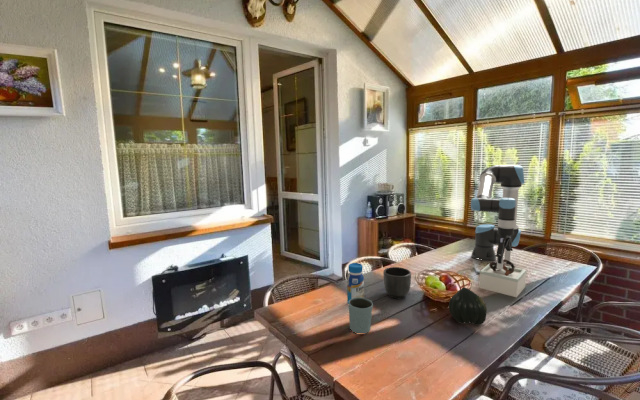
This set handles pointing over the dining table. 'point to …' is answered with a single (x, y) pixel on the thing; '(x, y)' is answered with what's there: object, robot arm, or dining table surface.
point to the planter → (397, 281)
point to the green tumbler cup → (360, 314)
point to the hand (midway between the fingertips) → (503, 265)
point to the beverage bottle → (355, 282)
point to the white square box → (503, 280)
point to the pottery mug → (503, 267)
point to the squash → (467, 307)
